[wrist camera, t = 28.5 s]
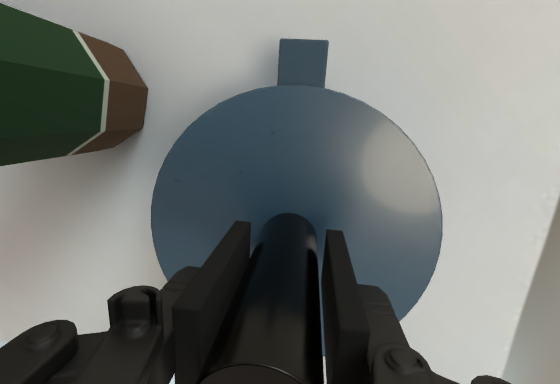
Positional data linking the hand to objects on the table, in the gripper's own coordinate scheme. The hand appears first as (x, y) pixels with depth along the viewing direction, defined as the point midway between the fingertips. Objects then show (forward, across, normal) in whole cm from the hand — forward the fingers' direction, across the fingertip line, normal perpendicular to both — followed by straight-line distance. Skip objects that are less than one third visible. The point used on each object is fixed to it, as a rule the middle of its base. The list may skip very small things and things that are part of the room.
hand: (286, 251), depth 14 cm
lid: (+2, 0, 0) cm, 2 cm away
